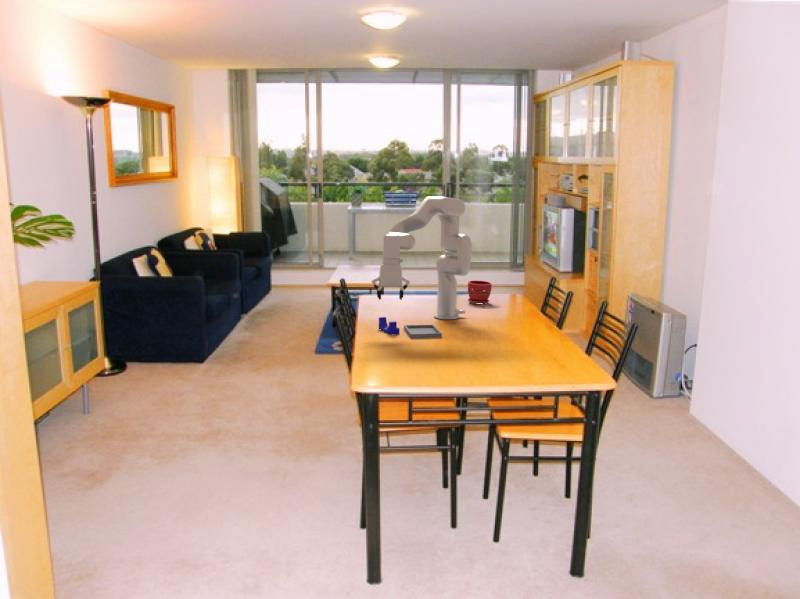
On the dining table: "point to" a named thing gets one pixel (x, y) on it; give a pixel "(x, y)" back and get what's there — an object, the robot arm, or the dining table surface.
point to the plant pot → (479, 291)
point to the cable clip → (388, 329)
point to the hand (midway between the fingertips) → (390, 299)
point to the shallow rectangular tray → (422, 331)
